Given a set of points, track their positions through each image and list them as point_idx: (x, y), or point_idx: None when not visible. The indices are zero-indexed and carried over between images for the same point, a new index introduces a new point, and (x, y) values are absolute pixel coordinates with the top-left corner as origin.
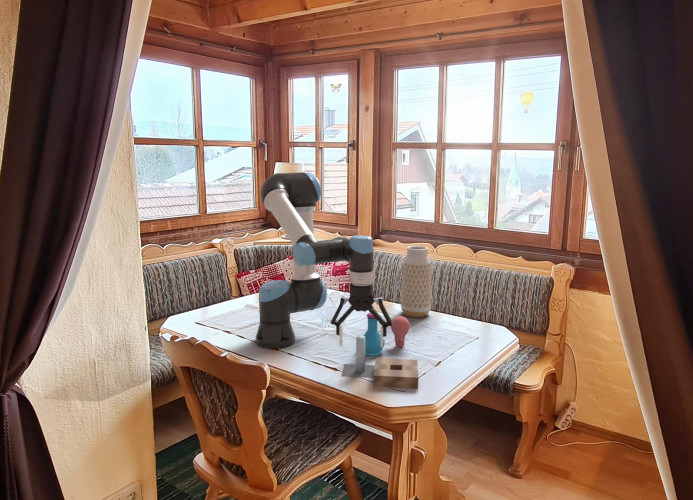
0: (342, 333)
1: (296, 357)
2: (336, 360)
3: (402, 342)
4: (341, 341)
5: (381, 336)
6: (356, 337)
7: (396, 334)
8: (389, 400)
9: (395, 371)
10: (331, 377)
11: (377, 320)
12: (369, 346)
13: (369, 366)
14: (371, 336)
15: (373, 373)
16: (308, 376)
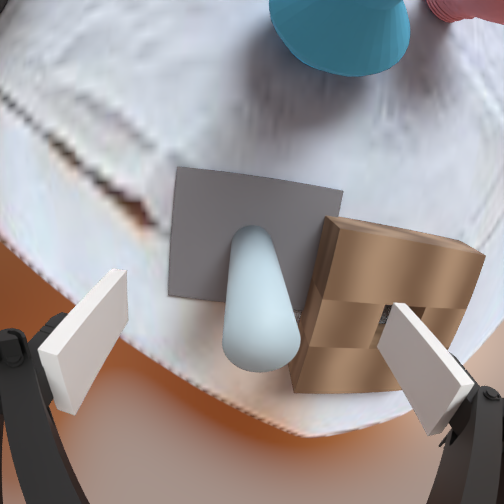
0: (96, 317)
1: (3, 110)
2: (142, 114)
3: (461, 19)
4: (116, 336)
5: (408, 391)
6: (224, 352)
7: (464, 4)
8: (317, 417)
9: (381, 361)
10: (132, 290)
11: (432, 489)
12: (323, 69)
13: (298, 200)
14: (353, 29)
15: (306, 273)
16: (57, 277)
